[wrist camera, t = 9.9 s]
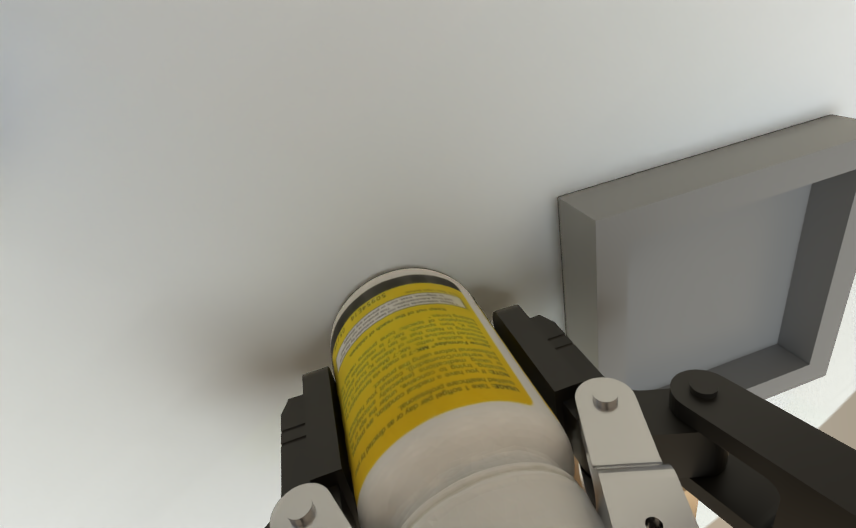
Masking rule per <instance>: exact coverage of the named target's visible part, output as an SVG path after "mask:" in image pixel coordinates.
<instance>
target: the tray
mask: <svg viewBox="0 0 856 528" xmlns="http://www.w3.org/2000/svg"><path fill="white" fill-rule="evenodd" d="M558 203H559V219H560V236H561V252H562V268H563V285H564V301H565V317H566V333H567V336H568V338H569V339H570V340H571V341H572V342H573V344H575V345H576V346H577V347H578V349H579V350H580V351H581V352H582V353H583V354H584V355H585V356H586V357H587V358H588V360H589V361H590V362H591V363H592V364H593V365H594V366H595V367H596V368H597V369H598V371H599V372H600V373H601V374H602V375H603V376H604V377H605V378H611V379H615V380H618V381H620V382H623V383H624V384H626V385H627V386H628V387H630V388H631V390H655V389H668V388H670V383H671V380H672V379H673V377H674V376H675V375H676V374H678V373H680V372H683V371H686V370H694V369H697V370H706V371H710V372H713V373H716V374H719V375H721V376H723V377H725V378H726V379H728V380H730V381H732V382H734V383H735V384H737V385H739V386H741V387H743V388H744V389H746V390H748V391H750V392H752V393H753V394H755V395H757V396H759V397H761V398H762V399H764V400H765V399H767V398H770V397H772V396H775V395H777V394H780V393H782V392H785V391H787V390H790V389H792V388H795V387H798V386H800V385H803V384H805V383H808V382H810V381H813V380H815V379H818V378H820V377H823V376H825V375H826V372H827V368H828V365H829V362H830V358H831V355H832V351H833V348H834V345H835V341H836V338H837V334H838V331H839V327H840V324H841V321H842V317H843V314H844V310H845V307H846V304H847V300H848V297H849V293H850V290H851V286H852V283H853V280H854V276H855V273H856V119H854V118H848V117H843V116H837V115H829V116H826V117H822V118H819V119H816V120H812V121H809V122H806V123H802V124H799V125H796V126H792V127H789V128H786V129H782V130H779V131H776V132H772V133H769V134H766V135H762V136H759V137H756V138H753V139H749V140H746V141H743V142H739V143H736V144H733V145H729V146H726V147H723V148H719V149H716V150H713V151H709V152H706V153H703V154H699V155H696V156H693V157H690V158H686V159H683V160H680V161H676V162H673V163H670V164H666V165H663V166H660V167H656V168H653V169H650V170H646V171H643V172H640V173H636V174H633V175H630V176H626V177H623V178H620V179H617V180H613V181H610V182H607V183H603V184H600V185H597V186H593V187H590V188H587V189H583V190H580V191H577V192H573V193H570V194H567V195H563V196H560V197H558Z"/></svg>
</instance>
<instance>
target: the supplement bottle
mask: <svg viewBox="0 0 856 528" xmlns="http://www.w3.org/2000/svg"><path fill="white" fill-rule="evenodd" d="M330 349H331V358H332V365H333V370H334V376H335V382H336V390H337V395H338V401H339V407H340V414H341V420H342V427H343V434H344V440H345V444H346V450H347V455H348V462H349V469H350V476H351V481H352V486H353V494H354V500H355V507H356V510H357V515H358V519H359V524H360V527H361V528H605V527H604V524H603V522H602V519H601V518H600V516H599V514H598V513H597V511H596V509H595V508H594V506H593V504H592V503H591V501H590V499H589V497H588V495H587V493H586V492H585V491H584V490H583V489H582V488H581V487H580V485H579V484H578V483H577V481H576V480H575V479H574V473H575V462H574V455H573V450H572V446H571V443H570V441H569V438H568V437H567V435H566V433H565V431H564V429H563V427H562V426H561V424H560V422H559V421H558V419H557V417H556V416H555V414H554V413H553V412H552V410H551V409H550V407H549V406H548V405H547V403H546V402H545V400H544V399H543V398H542V396H541V395H540V393H539V392H538V391H537V389H536V388H535V386H534V385H533V384H532V382H531V381H530V379H529V378H528V377H527V375H526V374H525V372H524V371H523V369H522V368H521V366H520V365H519V364H518V362H517V361H516V359H515V358H514V356H513V355H512V353H511V352H510V351H509V349H508V348H507V346H506V345H505V343H504V342H503V341H502V339H501V338H500V336H499V335H498V333H497V332H496V330H495V329H494V328H493V326H492V325H491V323H490V322H489V320H488V319H487V318H486V316H485V315H484V313H483V312H482V310H481V309H480V308H479V306H478V305H477V303H476V301H475V300H474V299H473V297H472V296H471V295H470V293H469V292H468V291H467V290H466V289H465V288H464V287H463V286H462V285H461V284H460V283H458V282H457V281H456V280H454V279H452V278H450V277H448V276H446V275H444V274H442V273H439V272H436V271H432V270H428V269H421V268H407V269H401V270H396V271H392V272H388V273H385V274H383V275H380V276H378V277H376V278H374V279H372V280H370V281H369V282H367V283H366V284H364V285H363V286H362V287H360V288H359V289H358V290H357V291H355V292H354V293H353V294H352V296H351V297H350V298H349V299H348V300H347V301H346V303H345V304H344V305H343V307H342V308H341V310H340V311H339V313H338V315H337V317H336V319H335V322H334V324H333V328H332V333H331V340H330Z"/></svg>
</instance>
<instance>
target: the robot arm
mask: <svg viewBox="0 0 856 528" xmlns="http://www.w3.org/2000/svg"><path fill="white" fill-rule="evenodd" d="M493 323H494V329H495V330H496V332H497V333H498V335H499V336H500V338H501V339H502V341H503V342H504V343H505V345H506V346H507V348H508V349H509V351H510V352H511V353H512V355H513V356H514V358H515V359H516V361H517V362H518V364H519V365H520V366H521V368H522V369H523V371H524V372H525V374H526V375H527V377H528V378H529V379H530V381H531V382H532V384H533V385H534V386H535V388H536V389H537V391H538V392H539V393H540V395H541V396H542V398H543V399H544V400H545V402H546V403H547V405H548V406H549V407H550V409H551V410H552V412H553V413H554V414H555V416H556V417H557V419H558V421H559V422H560V424H561V426H562V427H563V429H564V431H565V433H566V435H567V437H568V438H569V441H570V443H571V446H572V450H573V455H574V456H575V457H576V459H577V460H578V462H579V473H580V478H581V482H582V487H583V490H584V491H585V492H586V493H587V495H588V497H589V499H590V501H591V503H592V504H593V506H594V508H595V509H596V511H597V513H598V514H599V516H600V518H601V519H602V522H603V524H604V527H605V528H699V526H698V524H697V522H696V519H695V517H694V515H693V512H692V510H691V507H690V505H689V503H688V500H687V498H686V496H685V493H684V491H683V488H684V489H686V490H687V491H688V492H689V493H691V494H692V495H693V496H694V497H696V498H697V499H698V500H699V501H701V502H702V503H703V504H704V505H706V506H707V507H708V508H709V509H711V510H712V511H713V512H714V513H716V514H717V515H718V516H719V517H721V518H722V519H723V520H725V521H726V522H727V523H728V524H730V525H731V526H732V527H733V528H856V450H855V449H853V448H851V447H849V446H847V445H846V444H844V443H842V442H840V441H838V440H836V439H835V438H833V437H831V436H829V435H827V434H825V433H824V432H822V431H820V430H818V429H817V428H815V427H813V426H811V425H809V424H808V423H806V422H804V421H802V420H800V419H799V418H797V417H795V416H793V415H791V414H790V413H788V412H786V411H784V410H782V409H781V408H779V407H777V406H775V405H773V404H771V403H770V402H768V401H766V400H764V399H762V398H761V397H759V396H757V395H755V394H753V393H752V392H750V391H748V390H746V389H744V388H743V387H741V386H739V385H737V384H735V383H734V382H732V381H730V380H728V379H726V378H725V377H723V376H721V375H719V374H716V373H713V372H710V371H706V370H697V369H694V370H686V371H683V372H680V373H678V374H676V375H675V376H674V377H673V379H672V380H671V383H670V388H668V389H655V390H631V388H630V387H628V386H627V385H626V384H624V383H623V382H620V381H618V380H615V379H611V378H605V377H604V376H603V375H602V374H601V373H600V372H599V371H598V369H597V368H596V367H595V366H594V365H593V364H592V363H591V362H590V361H589V360H588V358H587V357H586V356H585V355H584V354H583V353H582V352H581V351H580V350H579V349H578V347H577V346H576V345H575V344H573V342H572V341H571V340H570V339H569V338H568V336H567V335H566V336H565V333H564V332H563V331H562V330H561V329H560V328H559V327H558V325H557V324H556V323H555V322H553V321H551V320H549V319H547V318H545V317H543V316H541V315H538V316H535V317H532V318H529V317H528V316H527V315H526V313H525V312H524V311H523V310H522V309H521V307H520V306H519V305H513V306H510V307H507V308H504V309H501V310H498V311H495V312H493ZM302 381H303V395H300V396H297V397H294V398H291V399H288V402H287V404H286V406H285V408H284V410H283V412H282V414H281V432H282V434H281V444H282V447H281V499H280V500H279V501H278V502H277V504H276V506H275V507H274V509H273V511H272V514H271V517H270V522H269V523H268V525H267V526H266V527H265V528H361V527H360V524H359V519H358V515H357V510H356V507H355V500H354V494H353V486H352V481H351V476H350V469H349V462H348V455H347V450H346V444H345V440H344V434H343V427H342V420H341V414H340V407H339V401H338V395H337V390H336V383H335V380H334V378H333V375H332V373H331V370H330V368H329V367H325V368H322V369H319V370H316V371H313V372H310V373H307V374H304V375H303V376H302ZM682 487H683V488H682Z"/></svg>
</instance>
